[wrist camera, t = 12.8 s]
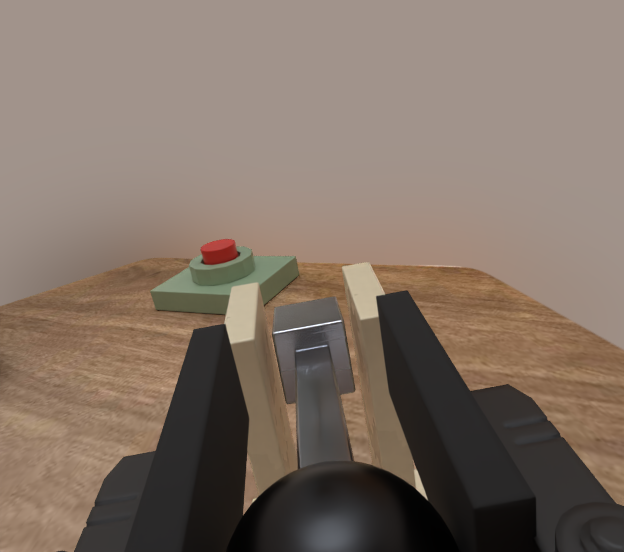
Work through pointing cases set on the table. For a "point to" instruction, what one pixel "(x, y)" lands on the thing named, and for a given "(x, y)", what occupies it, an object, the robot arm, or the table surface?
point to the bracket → (269, 396)
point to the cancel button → (219, 252)
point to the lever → (331, 459)
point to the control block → (223, 282)
